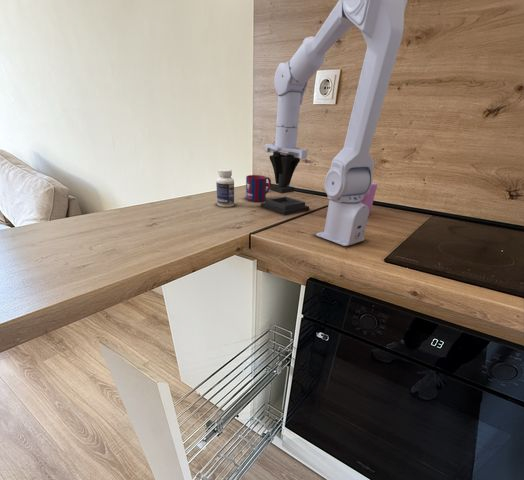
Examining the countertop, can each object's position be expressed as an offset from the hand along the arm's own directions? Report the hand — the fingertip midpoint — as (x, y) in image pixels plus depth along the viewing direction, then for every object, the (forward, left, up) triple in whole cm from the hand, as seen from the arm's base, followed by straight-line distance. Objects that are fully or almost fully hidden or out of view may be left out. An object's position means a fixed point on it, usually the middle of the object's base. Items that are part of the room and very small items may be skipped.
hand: (282, 184), depth 89 cm
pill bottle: (+15, +10, -8) cm, 19 cm away
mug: (+16, -5, -8) cm, 18 cm away
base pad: (+2, -4, -8) cm, 9 cm away
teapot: (-11, -18, -8) cm, 23 cm away
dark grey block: (0, 0, -2) cm, 2 cm away
